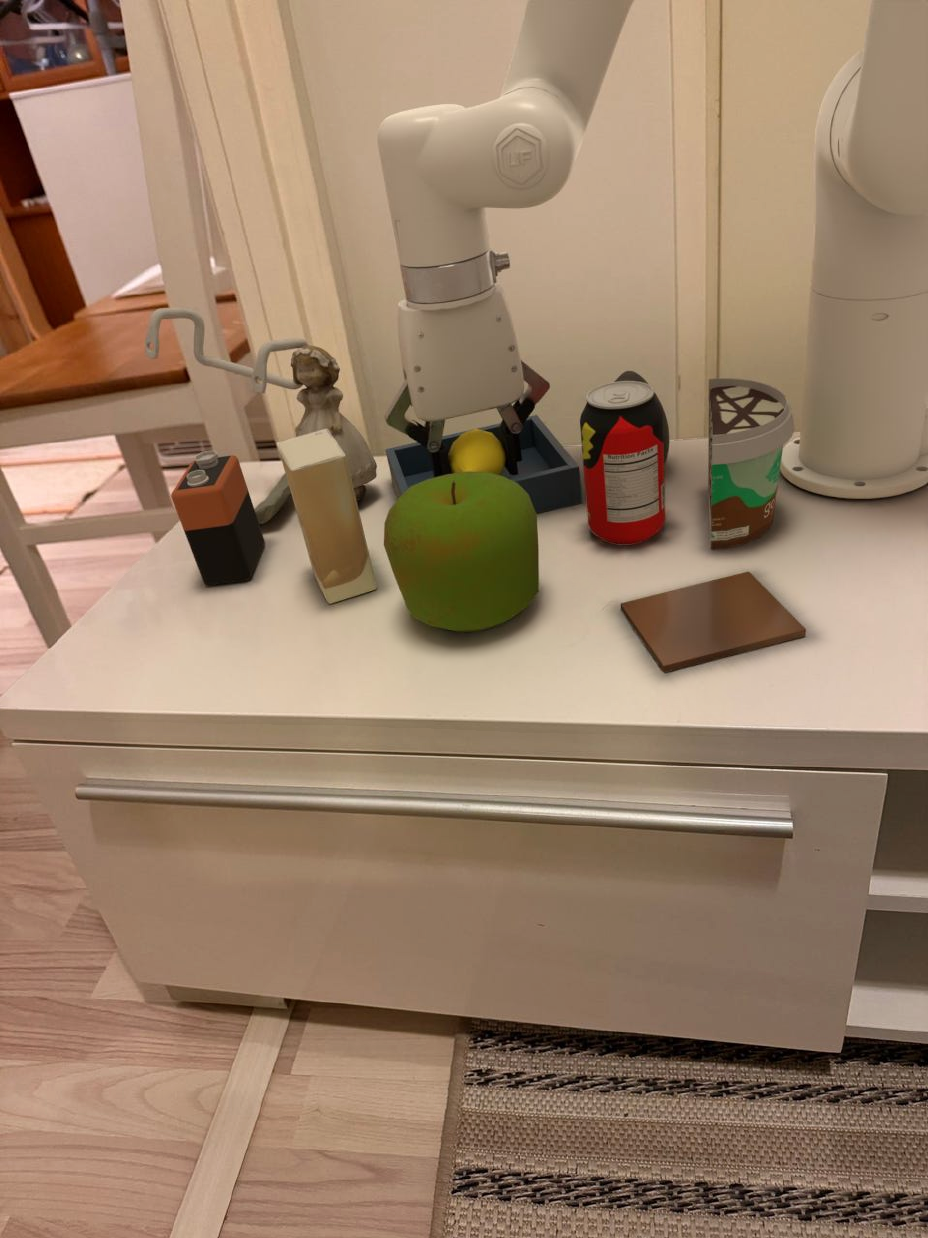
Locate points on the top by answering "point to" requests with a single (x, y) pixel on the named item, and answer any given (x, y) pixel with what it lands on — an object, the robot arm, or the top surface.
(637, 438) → the beverage can
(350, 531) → the cosmetic box
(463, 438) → the lemon
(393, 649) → the top surface
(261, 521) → the stone
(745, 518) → the brown and cream wedge
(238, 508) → the battery
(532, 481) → the bin
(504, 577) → the apple
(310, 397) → the figurine
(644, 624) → the placemat
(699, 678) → the top surface
